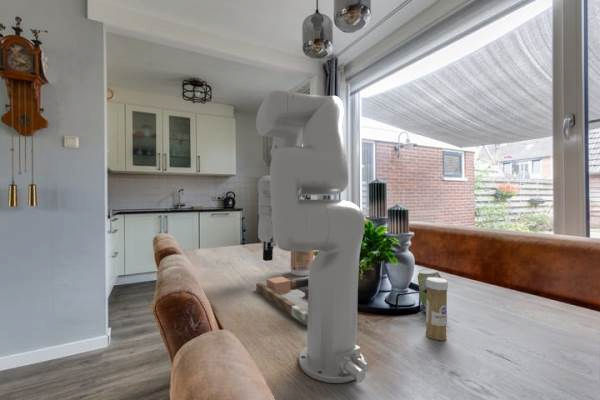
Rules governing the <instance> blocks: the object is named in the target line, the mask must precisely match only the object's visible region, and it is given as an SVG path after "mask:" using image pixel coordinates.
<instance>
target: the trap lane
mask: <svg viewBox="0 0 600 400" xmlns="http://www.w3.org/2000/svg"><path fill="white" fill-rule="evenodd" d="M285 278H286V277H285ZM286 279H288V280H290V281H291V284H290V290H295V289H298V290H300V291H301V292H303V293H304V297H305V298H307V299H308V279H309V277H307V278H300V279H293V278H291V277H288V278H286ZM255 286H256V287H255V291H256V292H258V293H259V294H260V295H262V296H263V297H265V298H266V299H268V300H269V301H270V302H272V303H273V304H275V305H276V306H277V307H279V308H280V309H282V310H283V311H284V312H286V313H287V314H289V315H290V316H291V317H293V318H294V319H296V320H297V321H298V322H300V323H301V324H303V326H306V327H307V328H308V311H306V310H305V309H304V308H301V307H300V306H298V305H297V304H295V303H294V302H292V301H291V300H288V299H287V298H285V297H284V296H283V295H282V294H278V293H276V292H275V291H273V290H271V289H270V288H268V287H267V285H265V284H263V283H262V282H256V284H255Z"/></svg>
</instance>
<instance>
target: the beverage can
mask: <svg viewBox="0 0 600 400" xmlns="http://www.w3.org/2000/svg"><path fill="white" fill-rule="evenodd" d="M429 277H437V278H441V277H442V276H441V275H440V273H439V272H438V270H436V269H422V270H419V271H418V275H417V284H418V289H419V294H420V295H419V297H420V304H421V309H422V311H423V312H424V313H426V299H427V286H426V279H427V278H429Z"/></svg>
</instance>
